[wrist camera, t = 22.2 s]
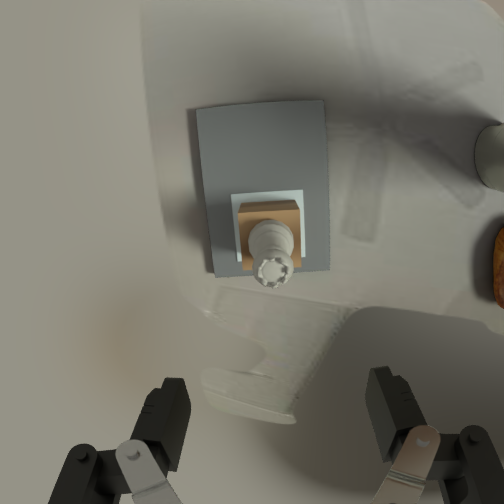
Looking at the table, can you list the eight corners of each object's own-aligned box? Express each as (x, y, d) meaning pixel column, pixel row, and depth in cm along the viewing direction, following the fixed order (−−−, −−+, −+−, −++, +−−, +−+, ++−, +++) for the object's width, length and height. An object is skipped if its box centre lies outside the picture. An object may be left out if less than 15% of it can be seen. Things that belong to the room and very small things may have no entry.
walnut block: (241, 202, 35) (237, 213, 31) (294, 199, 35) (299, 209, 30) (245, 253, 37) (242, 270, 33) (296, 250, 37) (301, 267, 32)
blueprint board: (197, 110, 33) (195, 109, 32) (321, 101, 32) (323, 99, 31) (216, 273, 40) (214, 278, 39) (328, 266, 39) (330, 270, 38)
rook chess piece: (246, 259, 32) (241, 297, 25) (249, 216, 31) (245, 242, 23) (290, 263, 32) (298, 301, 25) (295, 220, 31) (306, 247, 23)
